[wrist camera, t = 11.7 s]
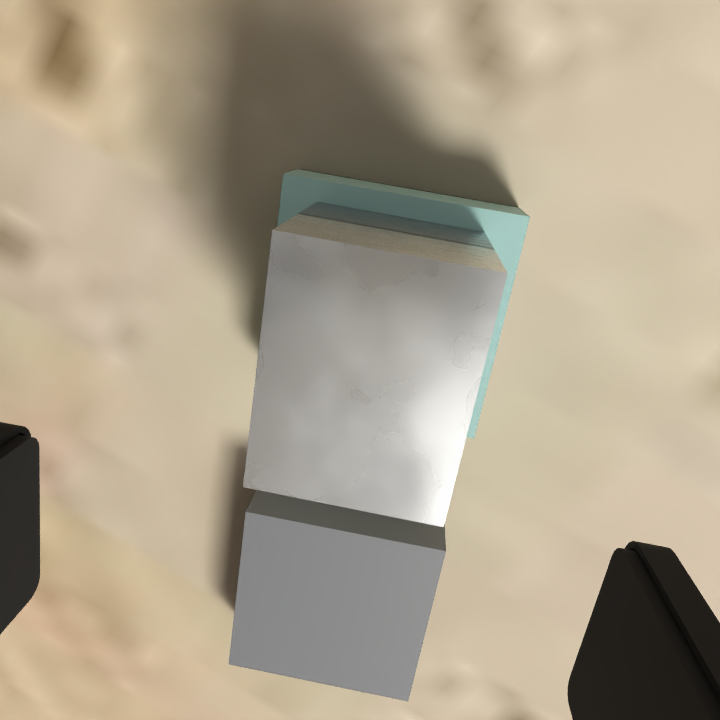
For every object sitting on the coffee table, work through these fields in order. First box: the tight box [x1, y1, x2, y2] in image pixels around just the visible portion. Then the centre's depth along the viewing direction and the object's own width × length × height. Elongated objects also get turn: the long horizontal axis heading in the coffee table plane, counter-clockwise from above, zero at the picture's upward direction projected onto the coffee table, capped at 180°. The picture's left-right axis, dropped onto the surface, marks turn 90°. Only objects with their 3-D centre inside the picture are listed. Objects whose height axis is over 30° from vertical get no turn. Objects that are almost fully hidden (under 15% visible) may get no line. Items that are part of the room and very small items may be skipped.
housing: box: [243, 202, 508, 527], centre depth 19 cm, size 7×6×6 cm
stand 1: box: [277, 169, 530, 438], centre depth 23 cm, size 8×8×2 cm
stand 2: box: [229, 490, 446, 701], centre depth 27 cm, size 8×8×2 cm
